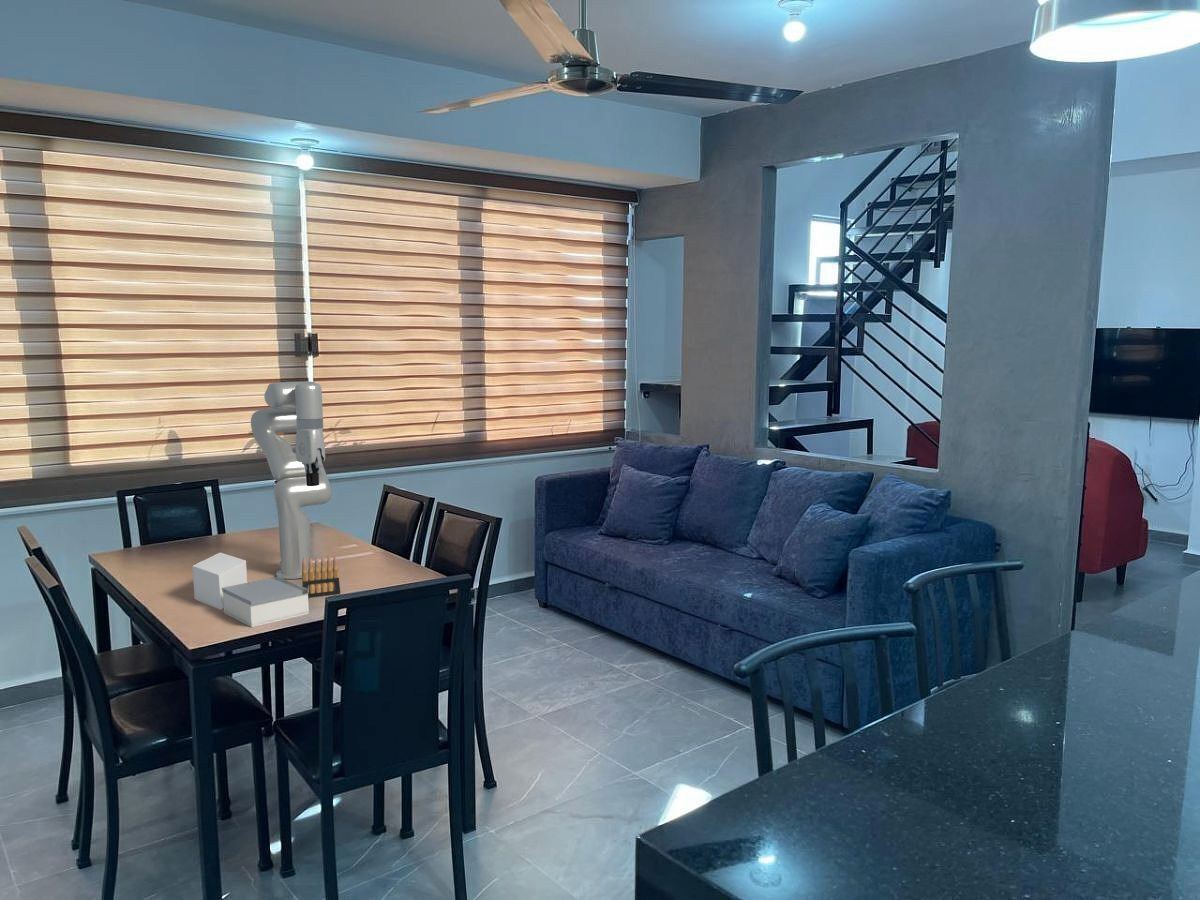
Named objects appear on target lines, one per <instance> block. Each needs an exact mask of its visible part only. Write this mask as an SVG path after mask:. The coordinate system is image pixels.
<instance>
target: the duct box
mask: <svg viewBox="0 0 1200 900" xmlns="http://www.w3.org/2000/svg"><path fill="white" fill-rule="evenodd" d="M223 601H224V608H223V614H226V615H227V616H229V617H231V618H233V619H235V620H237V621H239V622H241V623H242V624H245V625H247V626H248V627H251V628H254V627H259V626H262V625H268V624H271V623H276V622H279V621H284V620H288V619H292V618H296V617H301V616H305V615H309V614H310V610H309V608H310V607H309V598H308V593H306V594H301V595H296V596H292V597H287V598H283V599H278V600H273V601H269V602H264V603H260V604H255V605H250V604H248V603H246V602H243V601H241V600H239V599H237V598H235V597H233V596H231V595H229V594H227V593H225V592H223Z"/></svg>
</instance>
